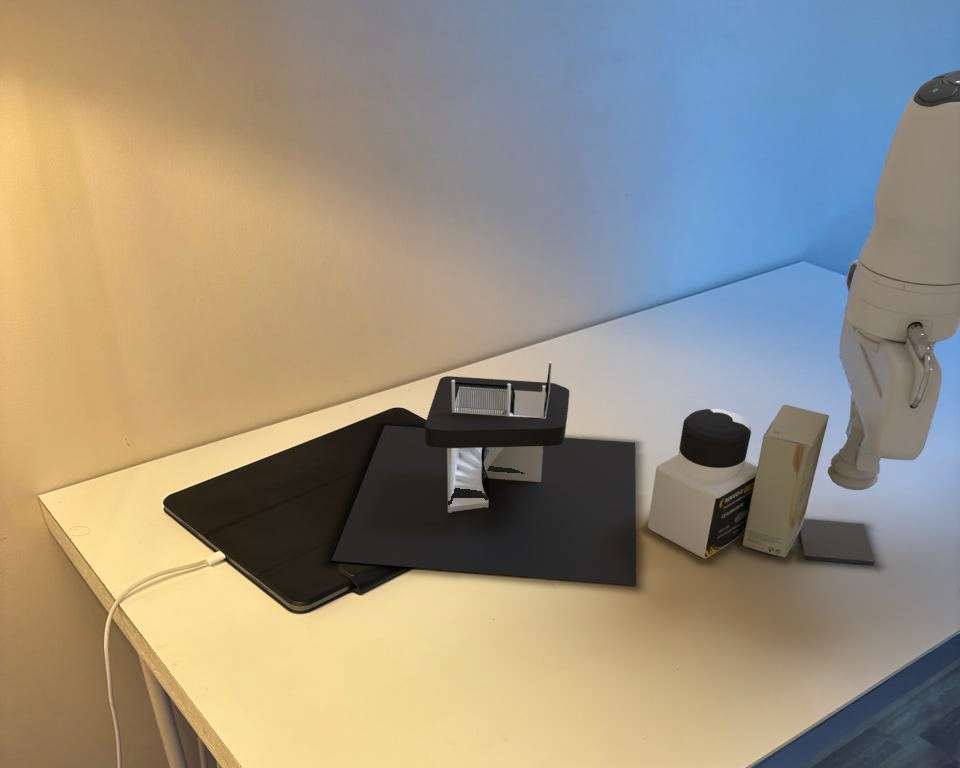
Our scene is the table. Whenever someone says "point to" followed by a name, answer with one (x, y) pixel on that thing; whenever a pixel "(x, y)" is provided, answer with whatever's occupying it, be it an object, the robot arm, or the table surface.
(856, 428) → the rook chess piece
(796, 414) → the cosmetic box
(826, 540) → the slate coaster
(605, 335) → the table surface
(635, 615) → the table surface
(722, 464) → the medicine bottle
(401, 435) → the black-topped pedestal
